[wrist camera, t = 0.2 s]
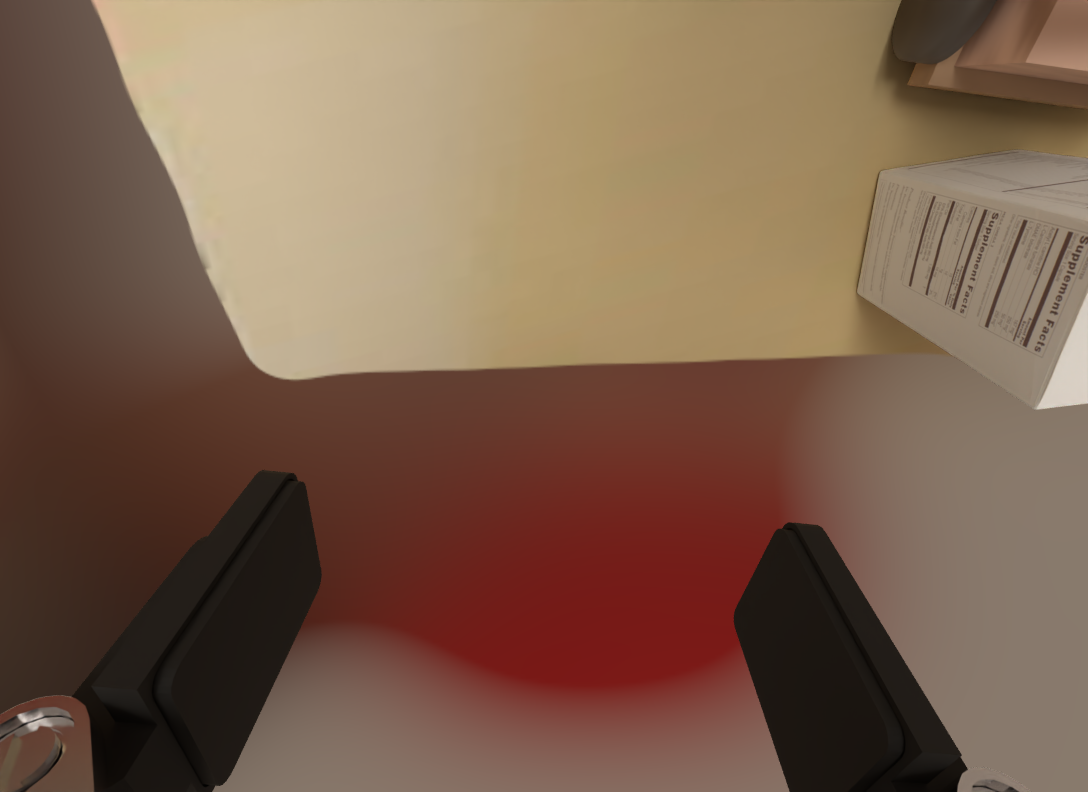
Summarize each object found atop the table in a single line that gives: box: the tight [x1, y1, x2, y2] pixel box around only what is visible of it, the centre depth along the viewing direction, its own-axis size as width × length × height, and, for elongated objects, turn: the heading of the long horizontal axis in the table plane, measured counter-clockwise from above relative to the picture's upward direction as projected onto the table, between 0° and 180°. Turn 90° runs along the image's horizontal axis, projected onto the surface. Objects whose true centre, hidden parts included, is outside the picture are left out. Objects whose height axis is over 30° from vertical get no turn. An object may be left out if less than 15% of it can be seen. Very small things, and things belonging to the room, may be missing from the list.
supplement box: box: [857, 149, 1088, 410], centre depth 29 cm, size 10×9×17 cm
